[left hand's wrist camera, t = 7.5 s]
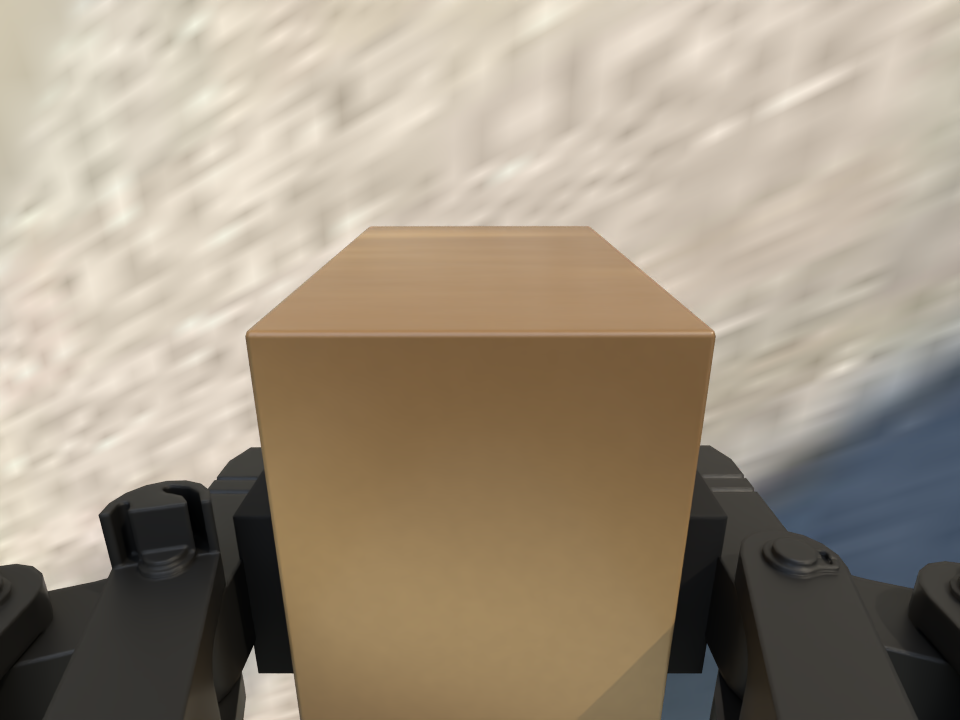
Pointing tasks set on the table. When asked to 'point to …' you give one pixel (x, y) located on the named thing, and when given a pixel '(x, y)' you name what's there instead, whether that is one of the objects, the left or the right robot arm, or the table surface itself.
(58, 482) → the table surface
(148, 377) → the table surface
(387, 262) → the beam
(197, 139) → the table surface
